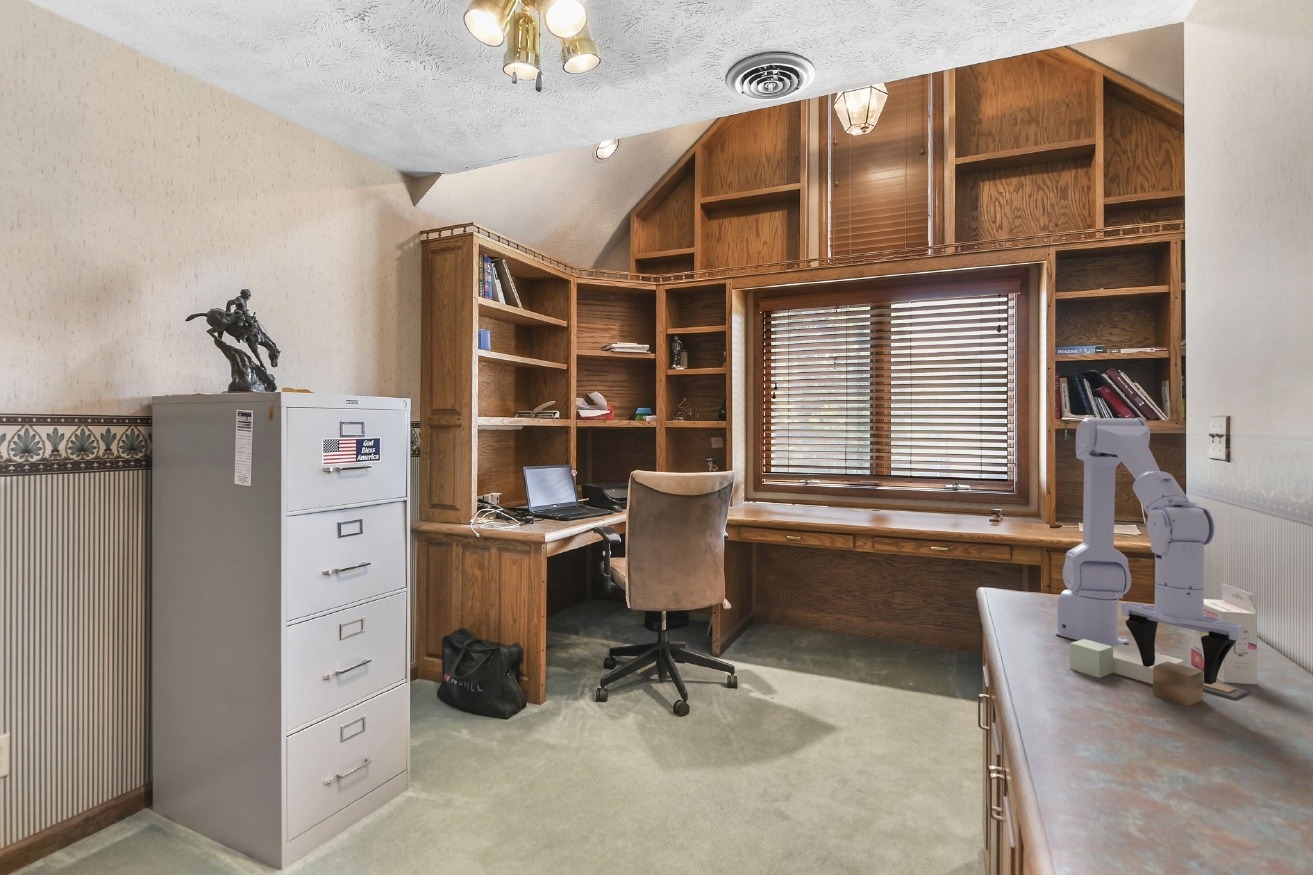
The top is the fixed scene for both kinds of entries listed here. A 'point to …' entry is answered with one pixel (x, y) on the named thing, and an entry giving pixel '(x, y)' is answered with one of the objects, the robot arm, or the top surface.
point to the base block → (1137, 663)
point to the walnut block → (1178, 683)
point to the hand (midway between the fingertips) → (1178, 673)
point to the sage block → (1091, 658)
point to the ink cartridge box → (1244, 652)
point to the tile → (1224, 690)
